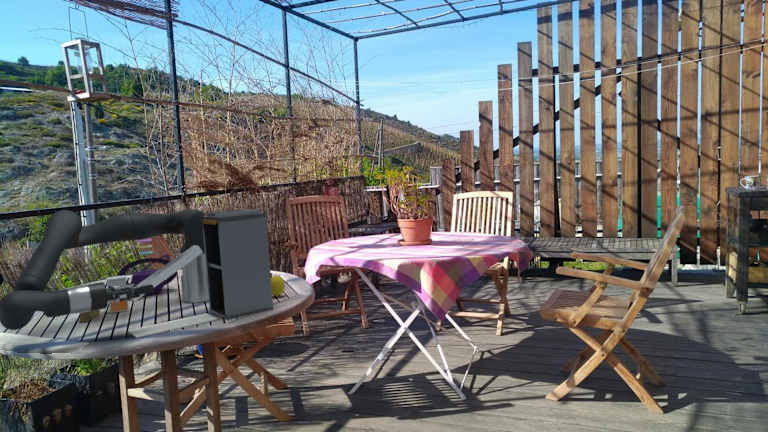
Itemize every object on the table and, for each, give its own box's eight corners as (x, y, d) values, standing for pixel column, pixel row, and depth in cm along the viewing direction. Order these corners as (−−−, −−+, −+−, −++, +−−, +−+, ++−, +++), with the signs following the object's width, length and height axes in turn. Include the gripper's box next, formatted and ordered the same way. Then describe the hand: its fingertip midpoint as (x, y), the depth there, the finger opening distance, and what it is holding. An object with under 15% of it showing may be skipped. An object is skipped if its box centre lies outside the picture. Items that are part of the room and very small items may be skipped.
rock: (87, 317, 173) (112, 305, 181) (72, 297, 173) (97, 286, 182) (74, 333, 178) (99, 321, 186) (59, 314, 178) (84, 303, 187)
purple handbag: (180, 285, 228) (175, 226, 226) (179, 295, 208) (173, 231, 206) (122, 292, 221) (115, 231, 218) (114, 303, 201) (108, 236, 199)
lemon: (281, 298, 193) (280, 276, 193) (267, 298, 194) (265, 276, 194) (287, 295, 199) (285, 273, 198) (273, 295, 200) (271, 273, 199)
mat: (136, 337, 155) (136, 336, 155) (128, 331, 162) (128, 330, 162) (217, 319, 170) (217, 318, 170) (206, 314, 177) (206, 313, 177)
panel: (125, 292, 159) (130, 299, 160) (129, 294, 156) (134, 301, 157) (194, 244, 171) (198, 251, 172) (198, 245, 168) (203, 252, 169)
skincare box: (109, 313, 185) (106, 279, 184) (109, 311, 189) (106, 277, 188) (129, 310, 188) (125, 276, 187) (128, 308, 192) (125, 275, 191)
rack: (225, 319, 169) (216, 214, 166) (208, 312, 180) (199, 212, 177) (273, 308, 179) (265, 209, 176) (254, 302, 190) (247, 208, 187)
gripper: (82, 307, 156) (145, 295, 167) (93, 316, 145) (159, 303, 156) (80, 281, 156) (142, 272, 166) (90, 288, 145) (157, 277, 155)
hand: (150, 287), depth 161 cm, fingers open, 4 cm apart
